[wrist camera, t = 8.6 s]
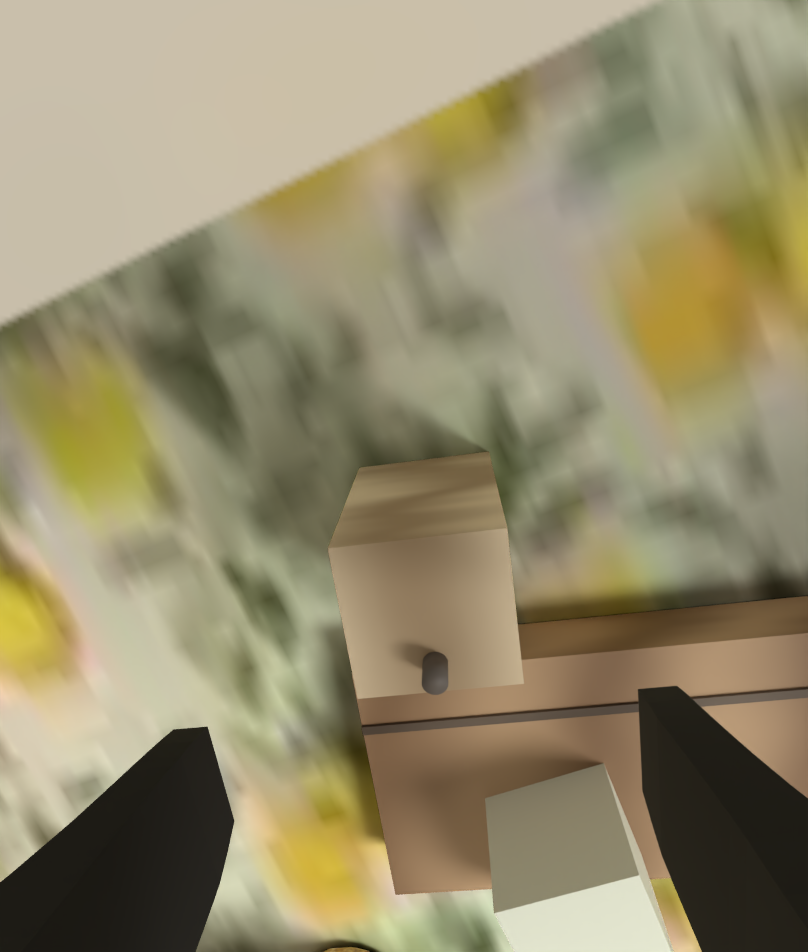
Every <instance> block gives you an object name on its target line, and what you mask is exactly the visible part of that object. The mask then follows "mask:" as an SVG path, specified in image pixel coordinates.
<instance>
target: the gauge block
mask: <svg viewBox="0 0 808 952" xmlns="http://www.w3.org/2000/svg"><path fill="white" fill-rule="evenodd" d="M328 553H329V558H330V563H331V568H332V573H333V579H334V584H335V589H336V594H337V599H338V604H339V609H340V614H341V619H342V624H343V629H344V634H345V639H346V644H347V649H348V654H349V659H350V664H351V669H352V674H353V679H354V684H355V689H356V694H357V699H363V698H374V697H385V696H396V695H407V694H418V693H429V694H432V695H439V694H442V693H444V692H445V691H451V690H462V689H473V688H484V687H495V686H506V685H517V684H524V679H523V670H522V661H521V651H520V642H519V633H518V623H517V614H516V605H515V595H514V586H513V577H512V567H511V558H510V549H509V540H508V530H507V525H506V521H505V517H504V512H503V508H502V504H501V500H500V496H499V492H498V487H497V483H496V479H495V475H494V471H493V467H492V463H491V458H490V454H489V451H488V452H480V453H472V454H464V455H456V456H448V457H440V458H432V459H424V460H416V461H408V462H400V463H392V464H384V465H376V466H368V467H360V468H359V469H358V472H357V475H356V477H355V480H354V482H353V485H352V487H351V490H350V492H349V495H348V498H347V500H346V503H345V505H344V508H343V510H342V513H341V515H340V518H339V521H338V523H337V526H336V528H335V531H334V533H333V536H332V538H331V541H330V544H329V546H328Z"/></svg>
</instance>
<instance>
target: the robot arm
mask: <svg viewBox="0 0 808 952" xmlns="http://www.w3.org/2000/svg"><path fill="white" fill-rule="evenodd" d="M638 704H639V726H640V748H641V770H642V791H643V795H644V798H645V802H646V805H647V808H648V812H649V815H650V819H651V822H652V826H653V829H654V832H655V835H656V838H657V842H658V845H659V848H660V851H661V855H662V857H663V860H664V862H665V865H666V867H667V870H668V872H669V874H670V877H671V879H672V882H673V884H674V886H675V889H676V891H677V893H678V896H679V898H680V901H681V903H682V905H683V908H684V910H685V913H686V915H687V917H688V920H689V922H690V924H691V927H692V929H693V931H694V934H695V936H696V938H697V941H698V943H699V946H700V948H701V950H702V952H808V798H807V797H806V796H804V795H803V794H802V793H801V792H799V791H798V790H797V789H795V788H794V787H793V786H792V785H790V784H789V783H788V782H787V781H786V780H784V779H783V778H782V777H781V776H780V775H778V774H777V773H776V772H775V771H774V770H772V769H771V768H770V767H769V766H768V765H766V764H765V763H764V762H763V761H762V760H760V759H759V758H758V757H757V756H756V755H754V754H753V753H752V752H751V751H750V750H749V749H747V748H746V747H745V746H744V745H743V744H742V743H741V742H739V741H738V740H737V739H736V738H735V737H734V736H733V735H732V734H730V733H729V732H728V731H727V730H726V729H725V728H724V727H723V726H721V725H720V724H719V723H718V722H717V721H716V720H715V719H714V718H713V717H711V716H710V715H709V714H708V713H707V712H706V711H705V710H704V709H703V708H702V707H701V706H699V705H698V704H697V703H696V702H695V701H694V700H693V699H692V698H691V697H690V696H689V695H687V694H686V693H685V692H684V691H683V690H682V689H680V688H679V687H678V686H667V687H656V688H644V689H638ZM233 825H234V818H233V815H232V811H231V808H230V804H229V801H228V797H227V794H226V790H225V787H224V783H223V780H222V776H221V773H220V769H219V766H218V762H217V758H216V755H215V751H214V748H213V744H212V741H211V737H210V734H209V730H208V727H199V728H187V729H176V730H173V731H171V732H170V733H169V734H168V735H167V736H165V737H164V738H163V739H162V740H161V741H160V742H158V743H157V744H156V745H155V746H154V747H153V748H152V749H151V750H149V751H148V752H147V753H146V754H145V755H144V756H143V757H142V758H141V759H140V760H139V761H137V762H136V763H135V764H134V765H133V766H132V767H131V768H130V769H129V770H128V771H127V772H126V773H125V774H123V775H122V776H121V777H120V778H119V779H118V780H117V781H116V782H115V783H114V784H113V785H112V786H110V787H109V788H108V789H107V790H106V791H105V792H104V793H103V794H102V795H101V796H100V797H98V798H97V799H96V800H95V801H94V802H93V803H92V804H91V805H90V806H89V807H87V808H86V809H85V810H84V811H83V812H82V813H81V814H80V815H79V816H78V817H77V818H75V819H74V820H73V821H72V822H71V823H70V824H69V825H68V826H66V827H65V828H64V829H63V830H62V831H60V832H59V833H58V834H57V835H56V836H55V837H53V838H52V839H51V840H50V841H49V842H48V843H46V844H45V845H44V846H43V847H42V848H41V849H39V850H38V851H37V852H36V853H35V854H34V855H32V856H31V857H30V858H29V859H28V860H27V861H25V862H24V863H23V864H22V865H21V866H19V867H18V868H17V869H16V870H15V871H14V872H12V873H11V874H10V875H9V876H8V877H6V878H5V879H4V880H3V881H1V882H0V952H196V949H197V946H198V943H199V941H200V938H201V935H202V932H203V930H204V927H205V924H206V921H207V918H208V916H209V913H210V910H211V907H212V904H213V902H214V899H215V896H216V893H217V890H218V887H219V884H220V880H221V876H222V872H223V868H224V864H225V860H226V856H227V852H228V847H229V843H230V838H231V834H232V829H233Z"/></svg>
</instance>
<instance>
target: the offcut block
mask: <svg viewBox="0 0 808 952" xmlns="http://www.w3.org/2000/svg"><path fill="white" fill-rule="evenodd" d="M485 805H486V818H487V830H488V843H489V856H490V868H491V881H492V894H493V906H494V914H495V916H496V918H497V920H498V922H499V924H500V926H501V928H502V930H503V932H504V934H505V936H506V938H507V940H508V942H509V943H510V945H511V947H512V949H513V951H514V952H674V951H673V948H672V945H671V942H670V939H669V936H668V933H667V930H666V927H665V924H664V921H663V918H662V915H661V912H660V909H659V906H658V903H657V900H656V897H655V894H654V891H653V888H652V885H651V882H650V879H649V876H648V873H647V870H646V867H645V864H644V861H643V858H642V855H641V852H640V850H639V847H638V845H637V843H636V840H635V838H634V835H633V833H632V831H631V828H630V826H629V823H628V821H627V818H626V816H625V814H624V811H623V809H622V806H621V804H620V802H619V799H618V797H617V794H616V792H615V789H614V787H613V785H612V782H611V780H610V777H609V775H608V773H607V770H606V768H605V765H604V763H603V764H599V765H596V766H593V767H589V768H586V769H582V770H579V771H576V772H572V773H569V774H566V775H562V776H559V777H555V778H552V779H549V780H545V781H542V782H538V783H535V784H532V785H528V786H525V787H521V788H518V789H515V790H511V791H508V792H505V793H501V794H498V795H494V796H491V797H488V798H485Z"/></svg>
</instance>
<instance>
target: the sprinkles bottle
mask: <svg viewBox="0 0 808 952" xmlns="http://www.w3.org/2000/svg"><path fill="white" fill-rule="evenodd" d="M324 952H369V951H367V950H363V949H359V948H353V947H343V948H331V949H328V950H326V951H324Z"/></svg>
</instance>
